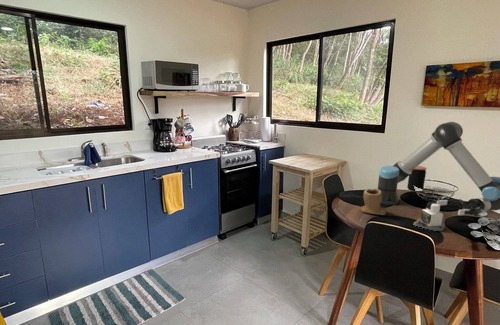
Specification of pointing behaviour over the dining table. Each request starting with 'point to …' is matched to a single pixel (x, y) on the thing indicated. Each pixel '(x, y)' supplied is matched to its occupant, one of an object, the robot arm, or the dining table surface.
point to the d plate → (423, 225)
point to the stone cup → (373, 202)
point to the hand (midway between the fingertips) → (447, 207)
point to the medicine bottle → (432, 214)
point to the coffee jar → (417, 178)
